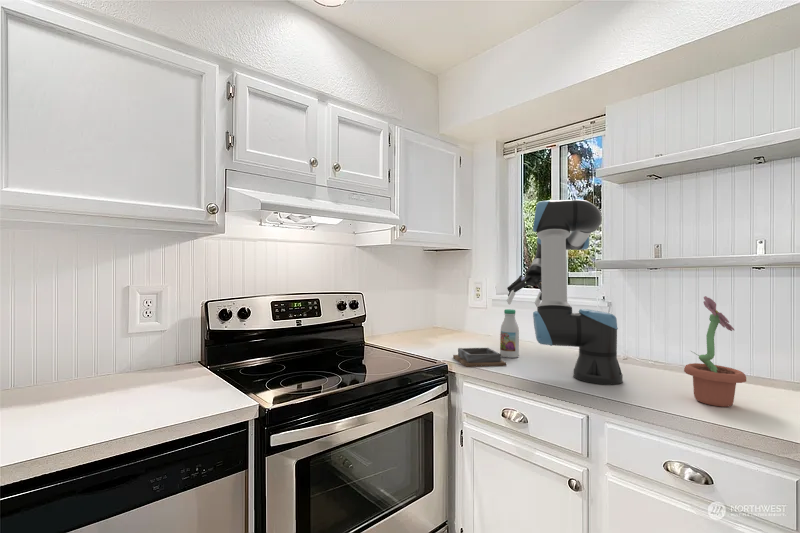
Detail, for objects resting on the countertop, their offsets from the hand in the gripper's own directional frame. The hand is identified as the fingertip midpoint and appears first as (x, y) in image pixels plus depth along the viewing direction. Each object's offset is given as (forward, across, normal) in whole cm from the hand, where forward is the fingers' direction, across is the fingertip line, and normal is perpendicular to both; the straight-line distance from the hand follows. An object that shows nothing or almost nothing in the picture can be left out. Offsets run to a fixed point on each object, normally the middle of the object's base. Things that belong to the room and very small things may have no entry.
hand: (521, 303), depth 181 cm
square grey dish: (+36, +3, +6) cm, 37 cm away
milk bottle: (+24, 0, -8) cm, 25 cm away
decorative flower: (+33, -72, +2) cm, 79 cm away
